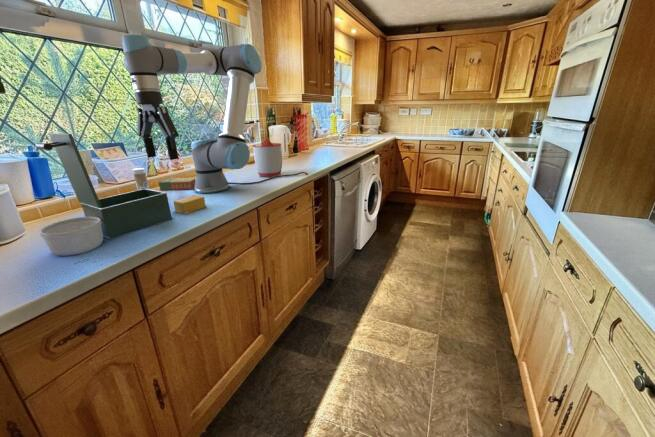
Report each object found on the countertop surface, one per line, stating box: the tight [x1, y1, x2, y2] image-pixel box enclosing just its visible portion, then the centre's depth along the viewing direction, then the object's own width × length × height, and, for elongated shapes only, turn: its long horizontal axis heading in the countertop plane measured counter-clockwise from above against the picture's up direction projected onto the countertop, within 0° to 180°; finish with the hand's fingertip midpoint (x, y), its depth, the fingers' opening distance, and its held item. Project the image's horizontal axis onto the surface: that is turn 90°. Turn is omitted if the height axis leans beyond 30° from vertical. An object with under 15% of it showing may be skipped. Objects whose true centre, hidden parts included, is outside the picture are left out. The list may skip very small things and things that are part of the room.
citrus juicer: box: [252, 138, 283, 178], centre depth 167 cm, size 16×17×20 cm
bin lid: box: [35, 132, 101, 208], centre depth 83 cm, size 21×13×6 cm
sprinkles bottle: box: [131, 167, 150, 191], centre depth 127 cm, size 5×5×14 cm
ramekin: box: [39, 216, 104, 257], centre depth 83 cm, size 13×13×7 cm
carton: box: [158, 176, 196, 191], centre depth 148 cm, size 8×16×4 cm, turn 89°
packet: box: [172, 194, 207, 215], centre depth 114 cm, size 9×6×4 cm, turn 148°
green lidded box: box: [80, 188, 173, 240], centre depth 99 cm, size 20×13×10 cm
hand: (162, 158), depth 104 cm, fingers open, 13 cm apart
